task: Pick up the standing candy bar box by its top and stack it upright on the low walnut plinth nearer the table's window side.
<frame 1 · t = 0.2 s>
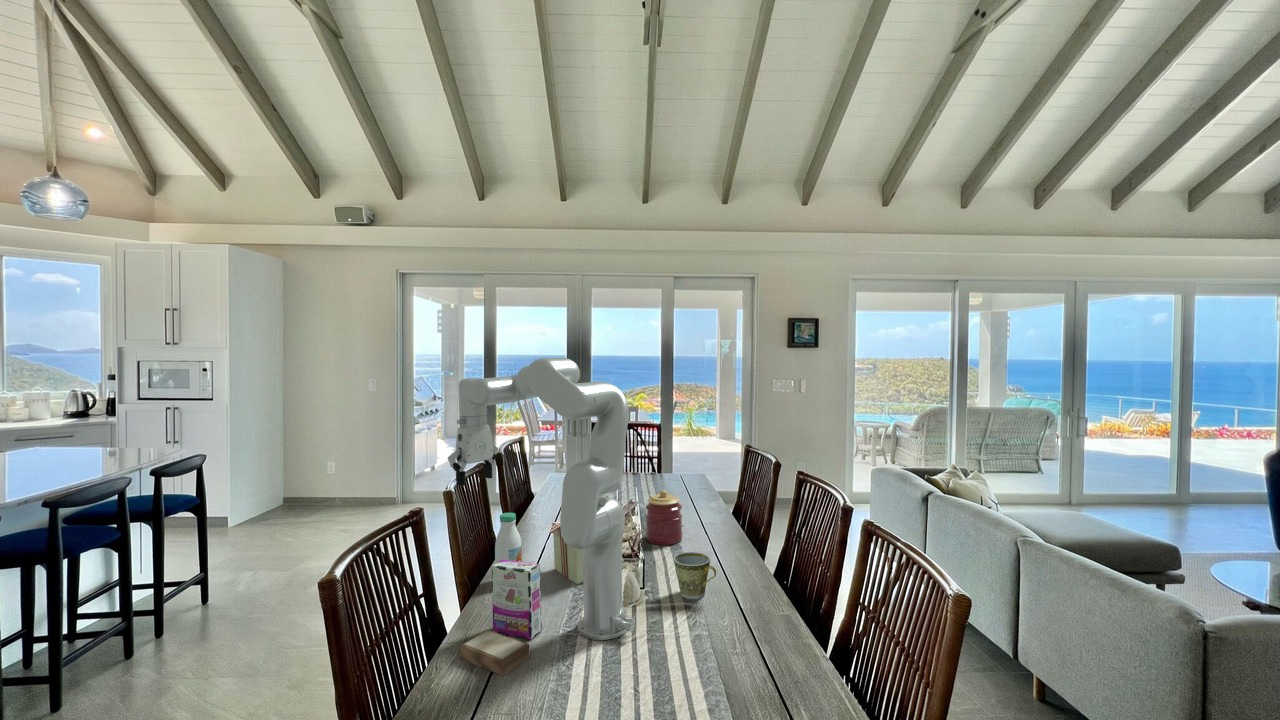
hand: (474, 481, 158), 31 cm above the table, fingers open, 9 cm apart
milk bottle: (509, 582, 163), on the table
canister: (664, 540, 197), on the table
gift box: (583, 573, 168), on the table
ceramic cup: (696, 596, 151), on the table
walnut plinth: (494, 657, 122), on the table
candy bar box: (517, 632, 134), on the table
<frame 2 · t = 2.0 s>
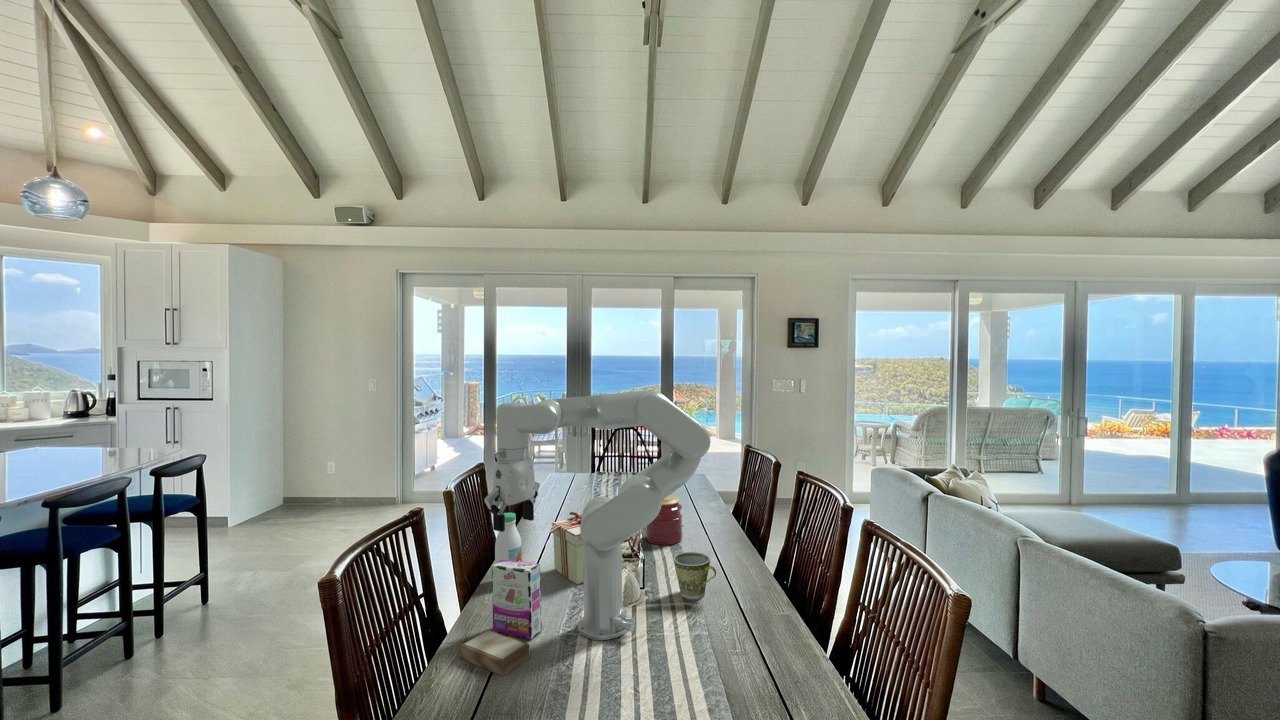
hand: (514, 524, 133), 26 cm above the table, fingers open, 9 cm apart
nothing on the table moved.
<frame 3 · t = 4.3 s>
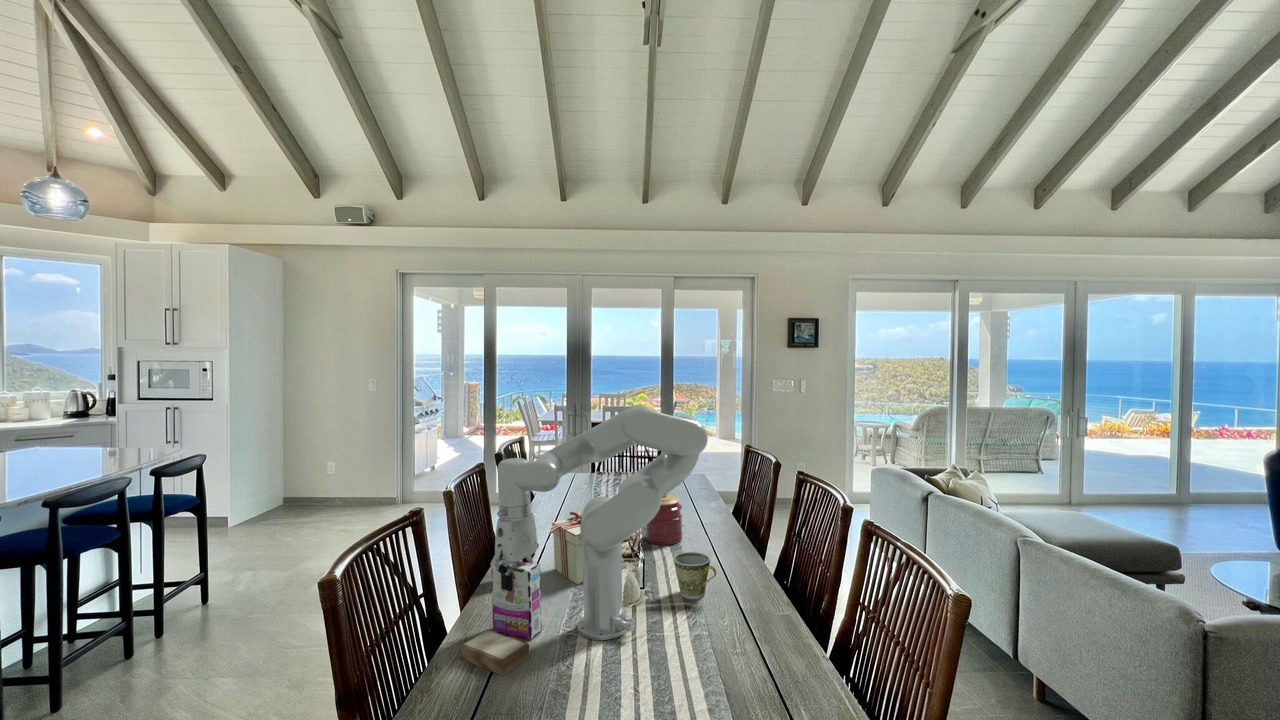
hand: (516, 584, 133), 12 cm above the table, fingers closed on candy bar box, 5 cm apart
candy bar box: (517, 632, 134), on the table, touching gripper
everything else where it was.
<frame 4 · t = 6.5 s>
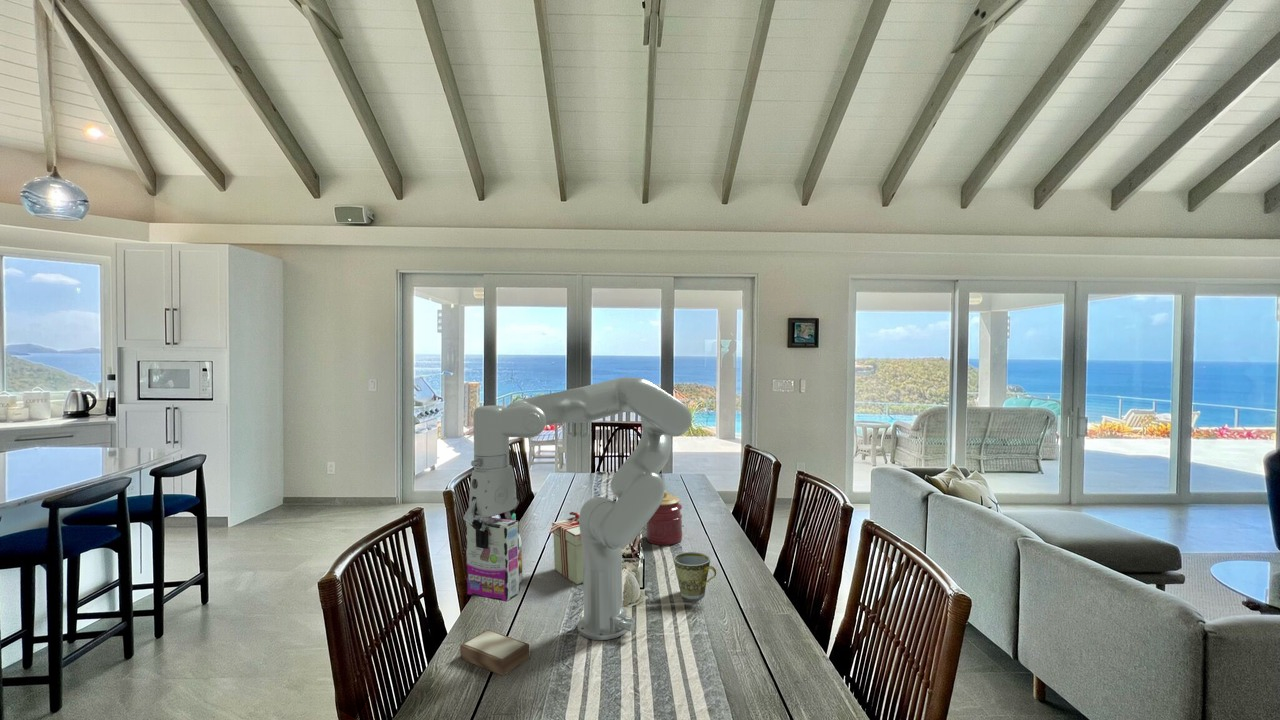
hand: (493, 542, 122), 26 cm above the table, fingers closed on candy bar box, 5 cm apart
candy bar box: (493, 594, 122), point 14 cm above the table, touching gripper
everything else where it was.
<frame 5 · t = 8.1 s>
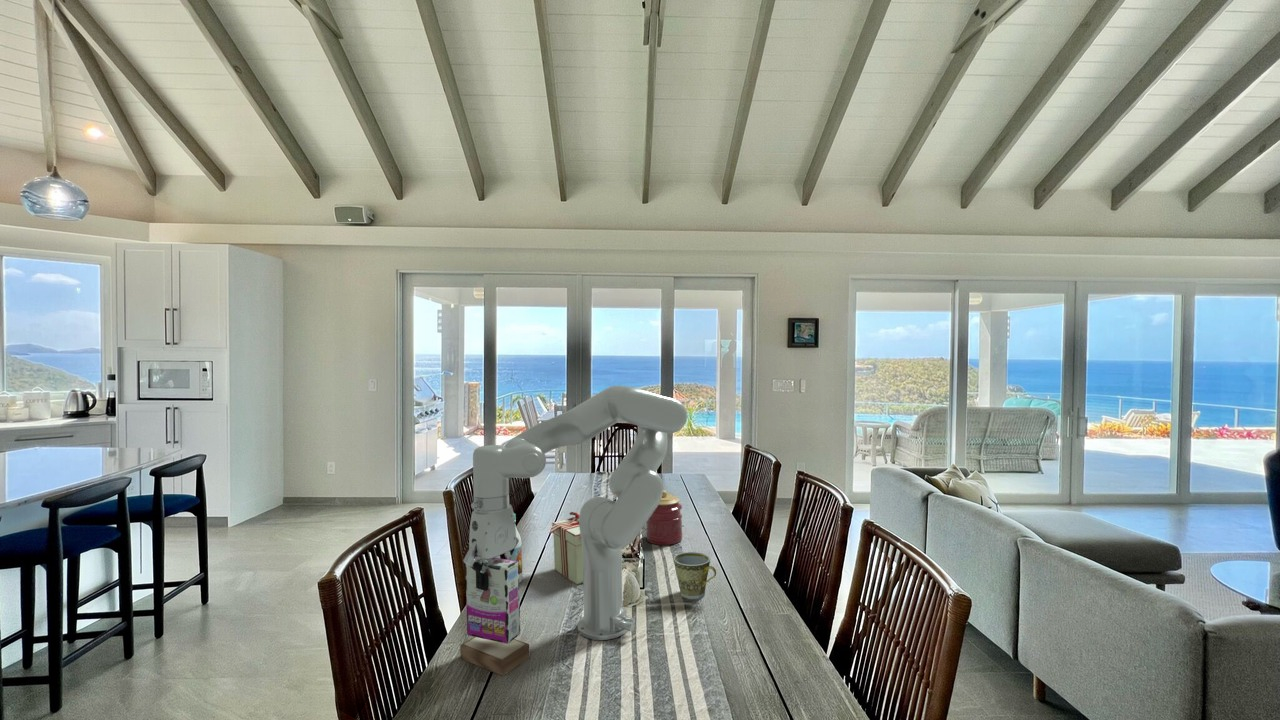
hand: (493, 583, 122), 17 cm above the table, fingers closed on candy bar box, 5 cm apart
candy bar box: (493, 635, 122), point 5 cm above the table, touching gripper
everything else where it was.
when the fingers open (15 cm above the table, at t = 9.2 s): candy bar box stays where it is, resting on walnut plinth.
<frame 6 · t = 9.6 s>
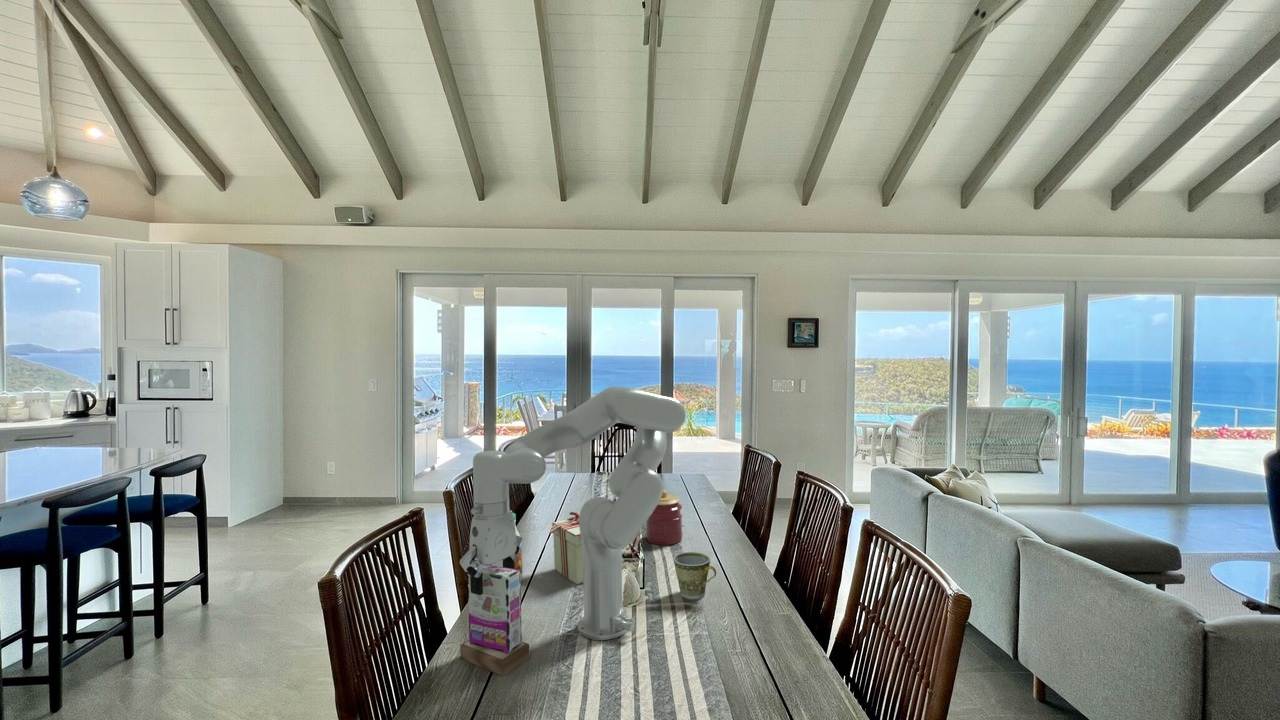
hand: (493, 585, 122), 16 cm above the table, fingers open, 9 cm apart
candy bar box: (495, 644, 122), point 3 cm above the table, touching walnut plinth
everything else where it was.
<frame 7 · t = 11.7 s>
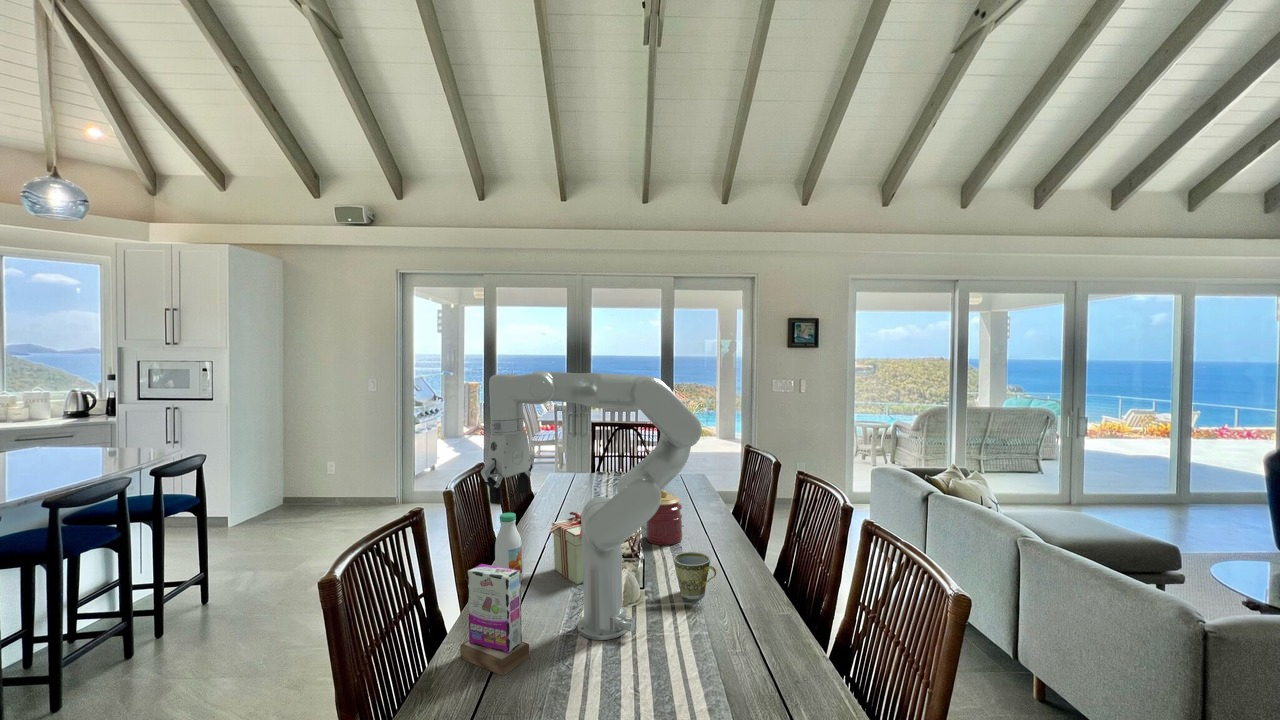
hand: (510, 498, 131), 33 cm above the table, fingers open, 9 cm apart
nothing on the table moved.
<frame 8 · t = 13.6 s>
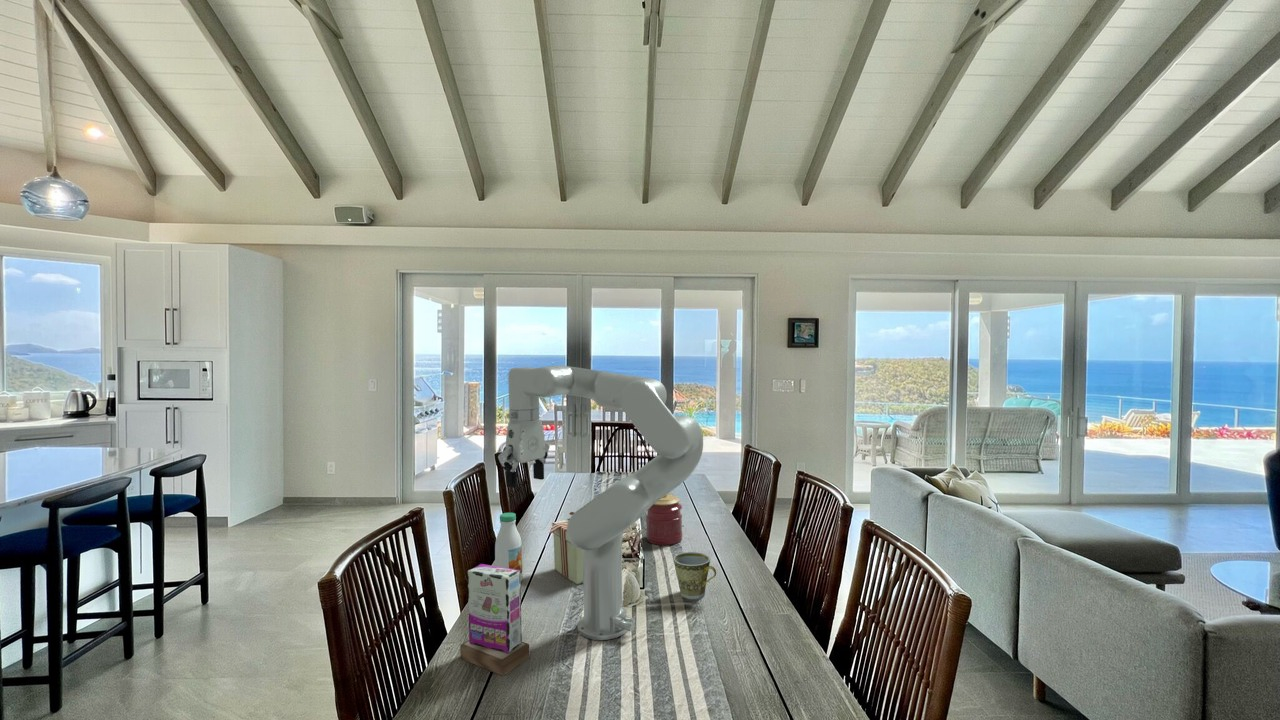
hand: (525, 482, 141), 34 cm above the table, fingers open, 9 cm apart
nothing on the table moved.
at the end: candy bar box inside the target area on the walnut plinth (0.2 cm from its centre), point 2.9 cm above the walnut plinth's base; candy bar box tilted 0°; the gripper is holding nothing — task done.
